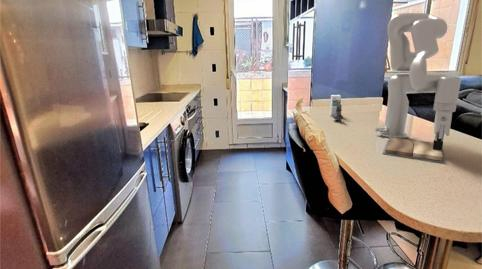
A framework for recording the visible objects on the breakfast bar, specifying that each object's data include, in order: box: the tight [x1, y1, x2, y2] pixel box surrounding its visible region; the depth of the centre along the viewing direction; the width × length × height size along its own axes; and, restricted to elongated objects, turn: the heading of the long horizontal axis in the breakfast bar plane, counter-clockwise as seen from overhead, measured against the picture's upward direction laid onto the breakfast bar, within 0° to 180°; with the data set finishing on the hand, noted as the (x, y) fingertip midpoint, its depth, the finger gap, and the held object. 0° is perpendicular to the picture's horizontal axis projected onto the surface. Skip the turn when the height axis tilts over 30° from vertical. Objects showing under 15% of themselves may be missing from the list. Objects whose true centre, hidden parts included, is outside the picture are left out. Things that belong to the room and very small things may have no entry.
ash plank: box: [413, 140, 444, 161], centre depth 122 cm, size 10×20×2 cm, turn 148°
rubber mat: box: [382, 139, 445, 164], centre depth 125 cm, size 22×22×1 cm
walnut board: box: [385, 138, 414, 157], centre depth 127 cm, size 10×20×2 cm, turn 148°
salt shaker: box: [333, 103, 344, 123], centre depth 178 cm, size 6×6×12 cm
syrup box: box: [329, 94, 342, 118], centre depth 192 cm, size 6×6×14 cm
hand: (437, 149), depth 119 cm, fingers closed
